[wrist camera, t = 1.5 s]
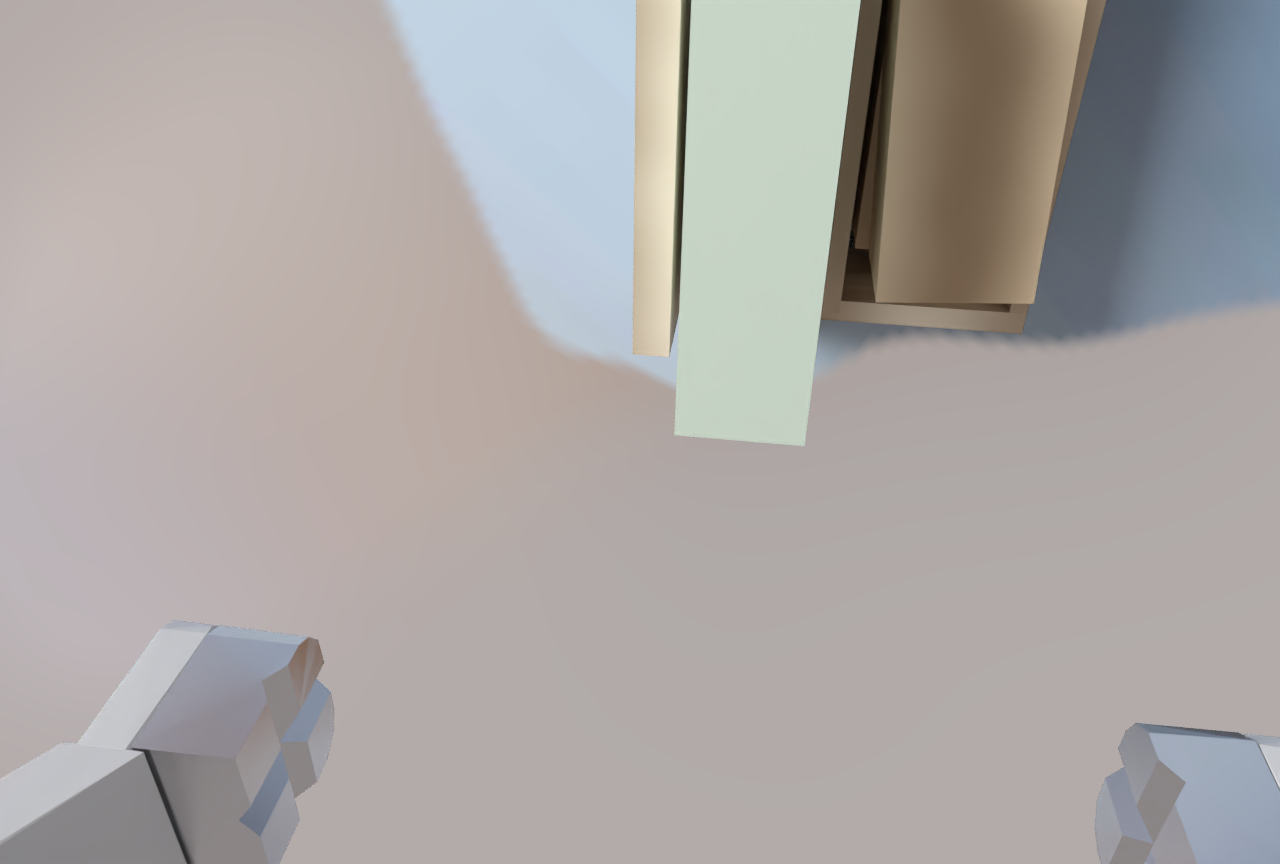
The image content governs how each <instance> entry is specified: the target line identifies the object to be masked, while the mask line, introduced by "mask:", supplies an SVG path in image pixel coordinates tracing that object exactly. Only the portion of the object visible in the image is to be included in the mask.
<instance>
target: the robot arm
mask: <svg viewBox="0 0 1280 864" xmlns="http://www.w3.org/2000/svg"><path fill="white" fill-rule="evenodd" d="M323 664H324V660H323V656H322V652H321V649H320V645H319V642H318V640H317V639H313V638H310V637H305V636H298V635H290V634H283V633H274V632H267V631H259V630H252V629H245V628H237V627H230V626H221V625H219V626H218V625H210V624H202V623H194V622H185V621H178V620H174V621H172V622H171V623H169V624H167V625H166V626H164V627H163V628H161V629H160V630H159V631H158V632H157V633H156V635H155V636H154V638H153V639H152V641H151V642H150V643H149V644H148V646H147V647H146V649H145V650H144V652H143V653H142V654H141V656H140V657H139V658H138V660H137V661H136V662H135V664H134V665H133V667H132V668H131V669H130V671H129V672H128V674H127V675H126V676H125V678H124V679H123V681H122V682H121V683H120V684H119V686H118V687H117V689H116V690H115V691H114V693H113V695H111V697H110V698H109V700H108V701H107V703H106V704H105V705H104V707H103V708H102V709H101V711H100V712H99V713H98V715H97V716H96V718H95V719H94V720H93V722H92V723H91V724H90V726H89V727H88V729H87V730H86V731H85V733H84V734H83V736H82V737H81V738H80V740H79V741H78V742H77V743H66V742H62V743H60V744H59V745H57V746H55V747H54V748H52V749H50V750H48V751H47V752H45V753H43V754H42V755H40V756H38V757H36V758H35V759H34V760H31V761H30V762H28V763H26V764H25V765H23V766H21V767H20V768H18V769H16V770H14V771H13V772H11V773H9V774H8V775H6V776H4V777H3V778H1V779H0V864H279V863H280V861H281V859H282V857H283V855H284V852H285V850H286V848H287V846H288V844H289V842H290V840H291V837H292V835H293V833H294V831H295V829H296V827H297V825H298V822H299V820H300V818H299V814H298V810H297V806H296V803H295V799H294V798H296V797H297V796H298V795H300V794H301V793H302V792H304V791H305V790H307V789H308V788H309V787H311V786H312V785H313V784H315V783H316V782H317V781H318V779H319V776H320V774H321V772H322V769H323V767H324V765H325V762H326V760H327V758H328V754H329V750H330V745H331V741H332V736H333V732H334V706H333V701H332V696H331V692H330V691H329V690H328V689H327V688H326V687H325V686H324V685H323V684H321V683H320V682H319V681H318V680H317V679H316V678H317V676H318V674H319V672H320V670H321V668H322V666H323ZM1118 749H1119V752H1120V756H1121V758H1122V762H1123V765H1124V767H1123V768H1122V769H1120V770H1119V771H1116V772H1115V773H1113V774H1111V775H1110V776H1108V777H1106V778H1105V780H1104V783H1103V785H1102V788H1101V791H1100V793H1099V796H1098V799H1097V805H1096V818H1095V834H1096V842H1097V850H1098V854H1099V858H1100V862H1101V864H1280V737H1270V736H1261V735H1252V734H1244V735H1242V734H1240V733H1236V732H1226V731H1216V730H1215V731H1214V730H1205V729H1194V728H1183V727H1173V726H1162V725H1151V724H1141V723H1135V724H1134V725H1133V726H1131V727H1130V728H1129V729H1128V730H1126V732H1125V734H1124V737H1123V739H1122V741H1121V743H1120V745H1119V747H1118Z"/></svg>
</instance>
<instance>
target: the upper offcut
mask: <svg viewBox="0 0 1280 864" xmlns="http://www.w3.org/2000/svg"><path fill="white" fill-rule="evenodd" d="M1086 5H1087V0H888V5H887V18H886V32H885V45H884V58H883V71H882V84H881V98H880V111H879V124H878V137H877V150H876V164H875V177H874V190H873V203H872V217H871V230H870V243H869V258H870V265H871V272H872V279H873V286H874V293H875V300H876V302H889V303H1008V304H1034V299H1035V293H1036V288H1037V282H1038V276H1039V271H1040V265H1041V259H1042V254H1043V248H1044V243H1045V237H1046V231H1047V226H1048V220H1049V214H1050V209H1051V203H1052V197H1053V192H1054V186H1055V180H1056V175H1057V169H1058V164H1059V158H1060V152H1061V147H1062V141H1063V135H1064V130H1065V124H1066V118H1067V113H1068V107H1069V101H1070V96H1071V90H1072V85H1073V79H1074V73H1075V68H1076V62H1077V56H1078V51H1079V45H1080V39H1081V34H1082V28H1083V22H1084V17H1085V11H1086Z"/></svg>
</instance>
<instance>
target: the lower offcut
mask: <svg viewBox="0 0 1280 864" xmlns="http://www.w3.org/2000/svg"><path fill="white" fill-rule="evenodd" d="M887 5H888V0H882V6H881V14H880V21H879V28H878V35H877V43H876V50H875V57H874V65H873V72H872V79H871V86H870V94H869V101H868V108H867V115H866V123H865V130H864V137H863V145H862V152H861V159H860V166H859V174H858V181H857V188H856V195H855V203H854V210H853V217H852V229H853V238H854V246H855V248H858V249H869V243H870V230H871V217H872V203H873V190H874V177H875V164H876V150H877V137H878V124H879V111H880V98H881V84H882V71H883V58H884V45H885V32H886V18H887Z"/></svg>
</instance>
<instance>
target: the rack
mask: <svg viewBox="0 0 1280 864" xmlns="http://www.w3.org/2000/svg"><path fill="white" fill-rule="evenodd" d="M1105 4H1106V0H1087V5H1086V11H1085V17H1084V22H1083V28H1082V34H1081V39H1080V45H1079V51H1078V56H1077V62H1076V68H1075V73H1074V79H1073V85H1072V90H1071V96H1070V101H1069V107H1068V113H1067V118H1066V124H1065V130H1064V135H1063V141H1062V147H1061V152H1060V158H1059V164H1058V169H1057V175H1056V180H1055V186H1054V192H1053V197H1052V203H1051V209H1050V214H1049V220H1048V226H1047V231H1046V237H1047V233H1048V229H1049V225H1050V221H1051V217H1052V213H1053V209H1054V205H1055V201H1056V197H1057V193H1058V189H1059V185H1060V181H1061V177H1062V173H1063V169H1064V165H1065V161H1066V158H1067V154H1068V150H1069V146H1070V142H1071V138H1072V134H1073V130H1074V126H1075V122H1076V118H1077V114H1078V110H1079V106H1080V102H1081V98H1082V94H1083V90H1084V86H1085V83H1086V79H1087V75H1088V71H1089V67H1090V63H1091V59H1092V55H1093V51H1094V47H1095V43H1096V39H1097V35H1098V31H1099V27H1100V23H1101V19H1102V15H1103V11H1104V8H1105ZM881 6H882V0H861V2H860V10H859V18H858V25H857V33H856V41H855V49H854V57H853V65H852V73H851V81H850V89H849V97H848V105H847V113H846V120H845V128H844V136H843V144H842V152H841V160H840V168H839V176H838V184H837V192H836V200H835V208H834V216H833V223H832V231H831V239H830V247H829V255H828V263H827V271H826V279H825V287H824V295H823V303H822V311H821V318H820V319H822V320H835V321H849V322H863V323H877V324H891V325H904V326H918V327H932V328H946V329H960V330H974V331H987V332H1001V333H1015V334H1022V331H1023V327H1024V323H1025V319H1026V315H1027V312H1028V308H1029V304H1008V303H889V302H876V300H875V293H874V286H873V279H872V272H871V265H870V258H869V249H858V248H855V246H849V239H850V232H851V225H852V217H853V210H854V203H855V195H856V188H857V181H858V174H859V166H860V159H861V152H862V145H863V137H864V130H865V123H866V115H867V108H868V101H869V94H870V86H871V79H872V72H873V65H874V57H875V50H876V43H877V35H878V28H879V21H880V14H881ZM690 20H691V0H636V85H635V182H634V279H633V354H636V355H649V356H662V357H669V356H670V351H671V347H672V342H673V337H674V333H675V328H676V324H677V319H678V315H679V305H680V279H681V253H682V227H683V201H684V175H685V150H686V124H687V98H688V72H689V46H690ZM1046 237H1045V240H1046ZM1044 244H1045V243H1044Z"/></svg>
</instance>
